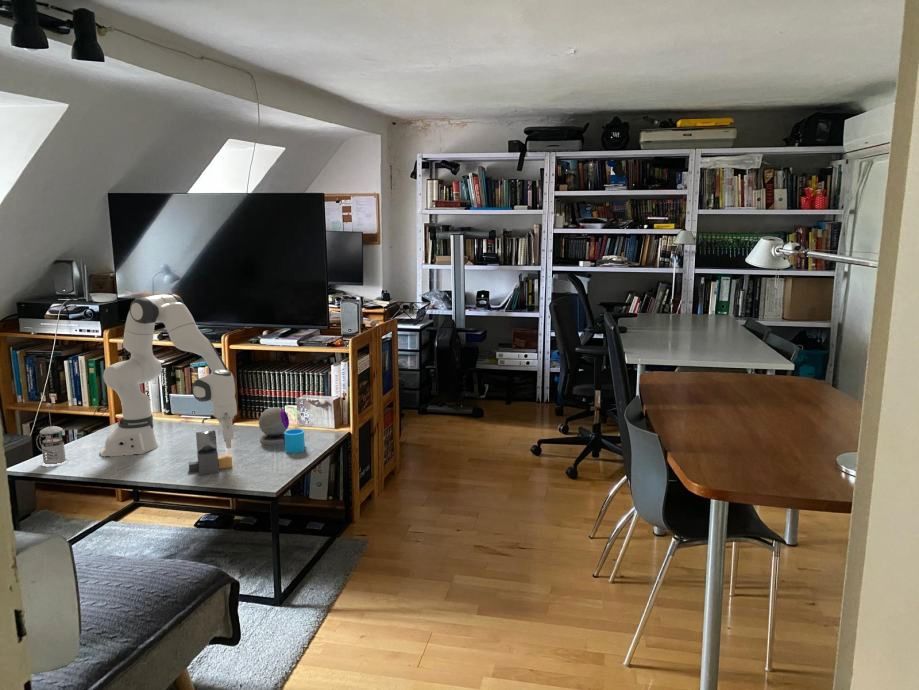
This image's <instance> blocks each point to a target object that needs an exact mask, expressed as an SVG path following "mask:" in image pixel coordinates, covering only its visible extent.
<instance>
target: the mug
mask: <svg viewBox="0 0 919 690" xmlns="http://www.w3.org/2000/svg"><path fill="white" fill-rule="evenodd" d="M284 435H285V442H284V449H285V451H286V453H287V452H288V454H299V453H298V452H300V453H303V452H304V451H305V450H306V447H305V444H306V443H305V442H306V441H305V430H304V429H301V428H293V429H287V430H286V431H285V432H284ZM302 451H303V452H302Z"/></svg>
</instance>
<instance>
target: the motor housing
mask: <svg viewBox="0 0 919 690" xmlns="http://www.w3.org/2000/svg"><path fill="white" fill-rule="evenodd" d="M216 434H217V433H216V430H215V429H213V430H206V431H205V430H204V431H197V432H195V438H196V439H195V440H196V454H197V457H196V458H197V461H198V462H199V471H198V473H199V476H206V475H213V474H218V473H220V469H219V466H218V456H219V455H218V454H219V453H218V446H217V435H216Z"/></svg>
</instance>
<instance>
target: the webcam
mask: <svg viewBox="0 0 919 690" xmlns="http://www.w3.org/2000/svg"><path fill="white" fill-rule="evenodd" d="M258 419H259V420H258V426H259V428H260V430H261V432H262V433H263V435H262V434H261V436H260V437H259V442H260V443H261V444H262V445H269V446H270V445H271V446H273V445H274V446H275V445H282V444H285V435H284V432H285V431H287V430H288V429H289V426H290V420H289V416H288V413H287V412H286V411H285V410H284V409H283V408H280V407H276V406H273V407H269V408H266V409H265V410H264V411H263V412H262V413H261V414H260V416H259V418H258ZM281 443H282V444H281Z"/></svg>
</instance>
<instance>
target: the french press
mask: <svg viewBox="0 0 919 690" xmlns="http://www.w3.org/2000/svg"><path fill="white" fill-rule="evenodd" d="M45 407H48V409H50V407H52V403H49V402H48V403H46V404H45ZM50 413H51V412H50V410H48V414H49V418H51V414H50ZM49 424H50V425H49V426H46V427H45V428H43V429H40V431H39V434H38V435H37V436H36V439H35V441H36V446H37V448H38V449H39V450H40V451H41V452H42V453H41V454H42V461H43V462H44V463H45V464H57V463H62V462H64V461H66V460H68V459H67V457H66V452H65V442H64V440H63V438H62V437H49V438H46V439H44V440H42V441H39V444H40V446H41V448H40V447H39V445H38V438H41V437H42V438H44V437H46V435H51V436H53V435H54V434H58V433H61V432H62V431H63V428H62V427H60V426H54V425H53V426H52V422H51V419H49ZM43 435H44V436H43ZM39 436H40V437H39ZM41 442H42V443H41ZM43 462H42V463H43Z"/></svg>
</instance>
